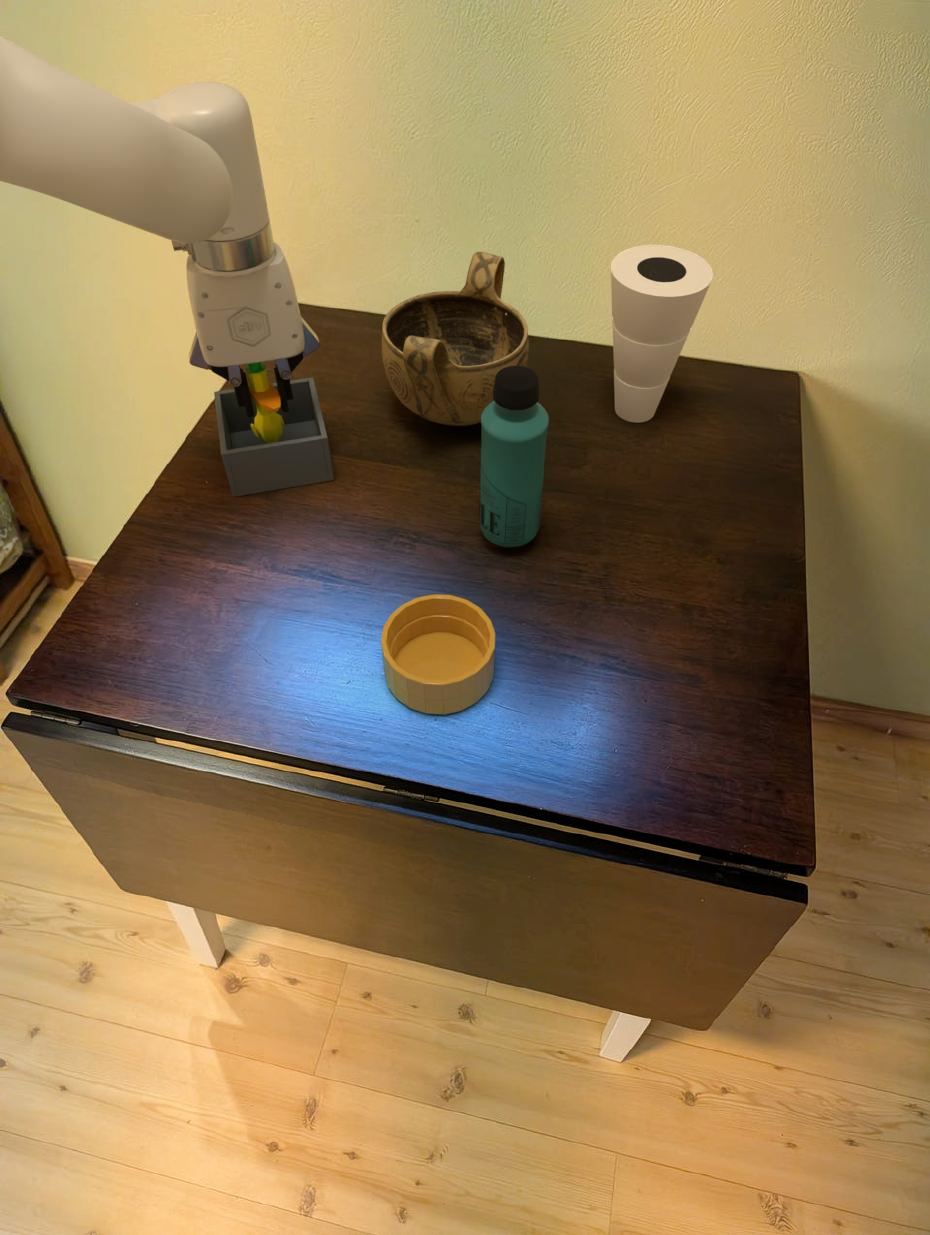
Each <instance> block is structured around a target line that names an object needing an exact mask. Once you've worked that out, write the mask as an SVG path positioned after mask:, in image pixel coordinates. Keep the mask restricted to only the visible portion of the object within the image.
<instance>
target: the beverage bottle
mask: <svg viewBox="0 0 930 1235" xmlns="http://www.w3.org/2000/svg"><path fill="white" fill-rule="evenodd" d="M493 399H494V401H493V402H491V403H490V404H489V405H488V406H487V407H486V408H485V409H484V410H483V413H482V415H481V423H480V424H481V439H480V440H481V441H480V443H481V444H480V447H479V457H480V460H479V462H478V464H479V465H480V484H479V486H480V487H479V506H478V524H479V529H480V531H481V533H482V534H483V536H484V537H485V538H486V539H487V541H489V542H490V543H492V544H494V545H497V546H499V547H504V548H517V547H521V546H524V545H527V544H528V543H531V541H533V540H534V538H535V537H536V536H537V533H539V531H540V530H541V528H540V526H541V525H542V523H541V520H542V514H543V506H544V504H543V503H544V501H543V495H544V491H545V490H544V489H545V486H544V482H545V479H544V478H545V470H546V469H545V459H546V447H547V438H548V428H549V425H550V424H549V423H550V417H549V414H548V411H547V410H546V408H545V407H544V406H542V404H541V403H540V402H539V399H540V380H539V376H538V374H537V373H536V371H534V370H533V369H531V368H529V367H528V366H527V367H524V366H509V367H505V368H503V369H501V370H500V371H499V372H498V373H497V374H496V376H495V381H494V388H493Z"/></svg>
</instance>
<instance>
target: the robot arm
mask: <svg viewBox="0 0 930 1235" xmlns="http://www.w3.org/2000/svg"><path fill="white" fill-rule="evenodd" d="M256 140H257V139H256V134H255V130H254V124H253V118H252V114H251V109H250V106H249V103H248V100H247V99H246V97H245V95H243V94H242V93H241V91H240V90H238V89H237V88H235V87H234V86H232V85H229V84H226V83H222V82H214V81H195V82H189V83H185V84H181V85H178V86H175V87H173V88H171V89H169V90H167V91H166V92H165V93H164V94H163V95H161V96H159V97H155V98H152V99H146V100H139V101H133V102H128V101H126V100H124V99H122V98H121V97H118V96H116V95H114V94H112V93H111V92H108V91H107V90H104V89H102V88H100V87H98V86H96V85H94V84H93V83H90V82H88V81H86V80H85V79H82V78H80V77H79V76H76V75H74V74H72V73H71V72H68V71H66V70H65V69H62V68H61V67H59V66H58V65H55V64H53V63H51V62H50V61H48V60H47V59H45V58H43V57H41V56H39V55H37V54H36V53H34V52H32V51H31V50H29V49H27V48H25V47H24V46H21V45H19V44H18V43H16V42H14V41H12V40H10V39H8V38H6V37H4V36H2V35H1V34H0V182H3V183H7V184H10V185H13V186H16V187H20V188H23V189H26V190H30V191H33V192H37V193H40V194H43V195H46V196H50V197H52V198H56V199H58V200H60V201H63V202H67V203H69V204H72V205H75V206H77V207H80V208H82V209H85V210H87V211H90V212H93V213H96V214H98V215H101V216H104V217H107V218H109V219H111V220H115V221H117V222H120V223H122V224H125V225H128V226H130V227H133V228H135V229H139V230H142V231H145V232H148V233H150V234H152V235H156V236H159V237H161V238H164V239H166V240H169V241H171V244H172V248H173V251H174V252H178V251H182V252H183V253H184V252H187V255H188V256H187V258H186V266H185V268H186V270H185V271H186V283H187V290H188V298H189V303H190V308H191V313H192V318H193V323H194V327H195V334H194V337H193V340H192V343H191V346H190V349H189V352H188V362H189V364H190V365H191V366H193V367H195V368H199V369H203V370H207V371H211V372H212V373H213V374H216V375H217V376H219V377H221V378H222V379H224V380H226V381H227V382H229V385H230V386H231V387H233V389H235V393H236V398H237V402H238V406H239V407H245V408H246V412H247V416H248V418H250V417H253V416H254V410H253V404H252V399H251V395H250V392H249V381H248V377H247V372H246V371H244V369H243V368H241V366H244V365H248V364H251V363H258V362H261V363H264V362H271V361H272V362H273V361H275V364H274V367H273V371H274V376H275V381H276V382H275V383H277V387H278V392H279V396H280V400H281V407H282V411H284V412H289V408H288V403H287V400H292V399H293V394H292V389H291V383H290V381H291V378H292V376H293V372H294V371H295V370H296V369H297V367H298V366H299V365H300V364H301V363H302V361H303V360H304V358H305V357H308V356H309V355H311V354H312V353H314V352H315V351H317V350H318V349H319V348H320V346H321V343H320V338H319V336H318V335H317V333H316V332H315V331H314V330H313V328H311V327H310V325H309V324H308V322H307V321H306V320H305V319H304V318H303V317H302V315H301V310H300V306H299V301H298V296H297V292H296V288H295V283H294V280H293V277H292V273H291V270H290V267H289V263H288V261H287V259H286V256H285V254H284V252H283V249H282V247H281V246H280V245H279V244H278V243H276V242H274V236H273V231H272V225H271V219H270V214H269V208H268V203H267V197H266V191H265V186H264V185H265V184H264V181H263V180H264V179H263V174H262V169H261V163H260V157H259V152H258V146H257V141H256Z"/></svg>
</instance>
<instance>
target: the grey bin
mask: <svg viewBox="0 0 930 1235" xmlns="http://www.w3.org/2000/svg"><path fill="white" fill-rule="evenodd" d="M271 383H272V384H273V386H274V387H275V388H276V390H277V391H278V387H277V382H271ZM290 383H291V389H292V394H293V399H292V400H287V403H288V408H289V412H284V411H282V407H281V405H280V408H279V410H278V411H277V412H276V413H277V414H279V415H282V419H283V422H284V426H285V428H284V427H283V426H282V429H283V434H282V435H281V437H280V439H279V440H278V441H279V442H276V443H269V444H267V443H266V442H265V441H263V440H262V439H261V438H259V437H257V436H255V434H254V433H253V431H252V429H251V425H250V424H254V425H255V421H254V418H255V417H256V415H257V407H256V404H255V402H254V399H253V398H252V396H251V399H252V404H253V410H254V416H253V417H250V418H248V416H247V412H246V408H245V407H239V406H238V402H237V398H236V393H235V389H234V388H231V389H223V390H217V391H214V392H213V395H214V403H215V412H216V421H217V430H218V437H219V438H218V439H219V440H218V441H219V446H220V447H219V448H220V449H219V450H220V455H221V459H222V462H223V466H224V470H225V473H226V477H227V481H228V483H229V488H230V491H231V495H232V497H234V498H236V497H241V496H247V495H248V496H249V495H253V494H258V493H259V494H260V493H265V492H271V491H277V490H283V489H289V488H295V487H296V488H297V487H301V486H307V485H313V484H319V483H326V482H332V481H335V476H334V469H333V464H332V456H331V450H330V444H329V438H328V432H327V429H326V425H325V421H324V417H323V413H322V412H323V411H322V408H321V404H320V400H319V396H318V392H317V388H316V384H315V383H316V382H315V379H314V377H305V378H300V379H291V380H290ZM278 393H279V392H278Z"/></svg>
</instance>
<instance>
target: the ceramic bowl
mask: <svg viewBox="0 0 930 1235" xmlns="http://www.w3.org/2000/svg"><path fill="white" fill-rule="evenodd" d="M505 267H506V263H505V258H504V256H500V255H496V254H494V253H493V254H492V253H489V252H486V251H485V252H484V251H475V252H474V253H473V255H472V257H471V260H470V263H469V266H468V271H467V275H466V279H465V285H463V287H462V288H461V290H447V291H446V290H444V291H443V290H441V291H432V292H427V293H423V294H418V295H415V296H412V297H410V298H407V299H405V300H403V301H401V302H399V303H397V304H396V305H394V306H393V307H392V308H390V310H389V311H388V312H387V313H386V314H385V316H384V318H383V321H382V332H381V357H382V363H383V367H384V372H385V375H386V378H387V380H388V383H389V386H390V388H391V390H392V391H393V393H394V395H395V396H396V397H397V399H398V400H399V401H400V402H401V404H403V406H405V407H406V408H407V409H408V410H410V412H412V413H414V414H416V415H418V416H419V417H421V418H423V419H424V420H427V421H429V422H432V423H435V424H440V425H444V426H450V427H467V426H473V425H477V424H481V415H482V413H483V410H484V409H485V408H486V407H487V406H488V405H489V404H490V403H491V402H493V401H494V399H493V388H494V381H495V376H496V374H497V373H498V372H499V371H500V370H501V369H503V368H505V367H509V366H524V367H527V368H528V362H529V355H530V354H529V353H530V351H529V350H530V341H529V328H528V323H527V321H526V319H525V317H524V316H523V315H522V314H521V312H520V311H518V310H517V309H516V308H515V307H514V306H512V305H511V304H508V303H507V302H504V301H503V300H502V294H503V284H504V275H505V269H506V268H505Z"/></svg>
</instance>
